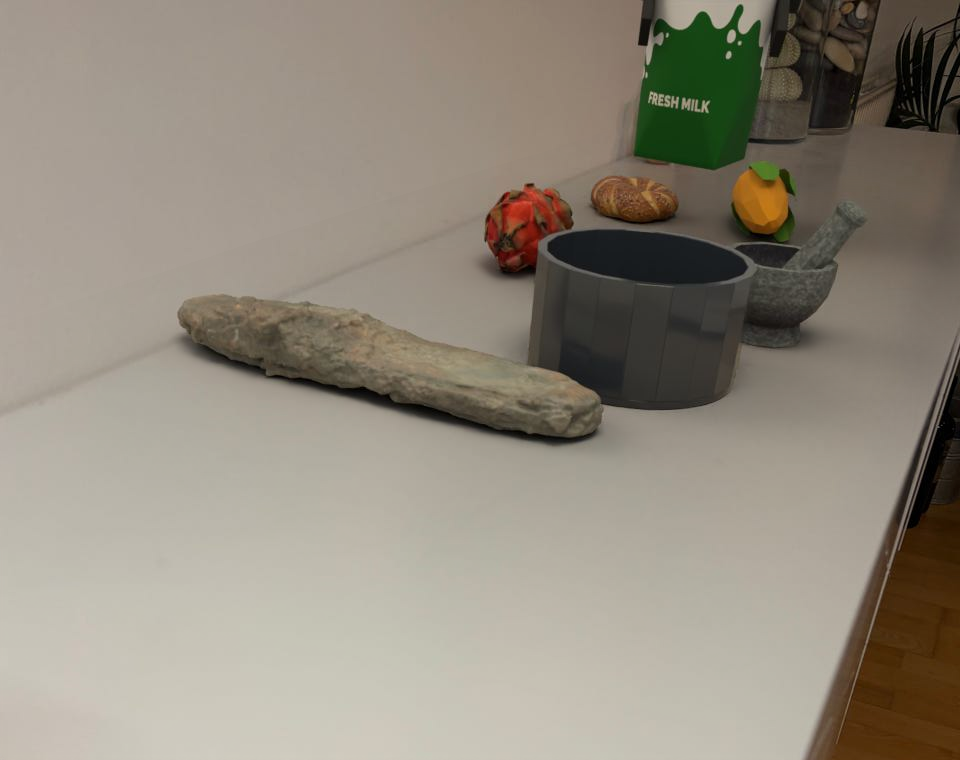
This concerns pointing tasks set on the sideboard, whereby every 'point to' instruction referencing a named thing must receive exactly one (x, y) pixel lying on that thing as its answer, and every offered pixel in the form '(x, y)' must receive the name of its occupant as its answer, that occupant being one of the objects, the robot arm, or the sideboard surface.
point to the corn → (764, 201)
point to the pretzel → (633, 199)
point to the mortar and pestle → (795, 278)
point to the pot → (641, 314)
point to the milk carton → (702, 80)
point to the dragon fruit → (524, 225)
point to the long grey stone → (390, 363)
